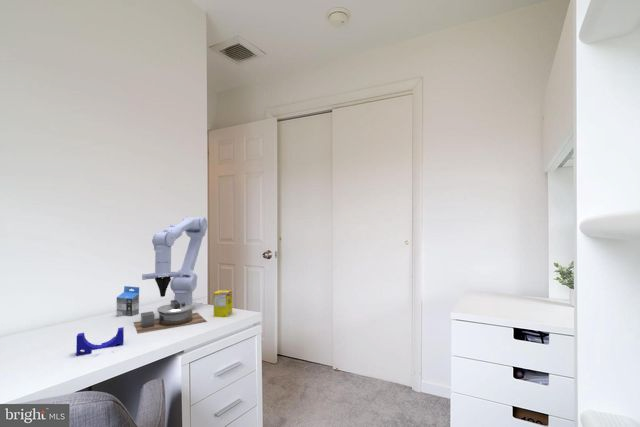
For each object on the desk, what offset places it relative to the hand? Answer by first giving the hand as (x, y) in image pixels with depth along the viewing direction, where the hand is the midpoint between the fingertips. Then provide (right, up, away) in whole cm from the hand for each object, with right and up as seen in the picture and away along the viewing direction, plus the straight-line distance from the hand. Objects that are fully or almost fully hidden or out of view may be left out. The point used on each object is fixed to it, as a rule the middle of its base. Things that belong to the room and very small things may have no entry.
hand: (162, 296), depth 131 cm
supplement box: (+22, -11, +6) cm, 26 cm away
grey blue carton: (-19, -11, +9) cm, 24 cm away
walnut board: (+5, -10, -3) cm, 12 cm away
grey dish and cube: (+4, -9, -4) cm, 11 cm away
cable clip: (-6, -10, -28) cm, 30 cm away
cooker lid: (+6, -5, -2) cm, 8 cm away
